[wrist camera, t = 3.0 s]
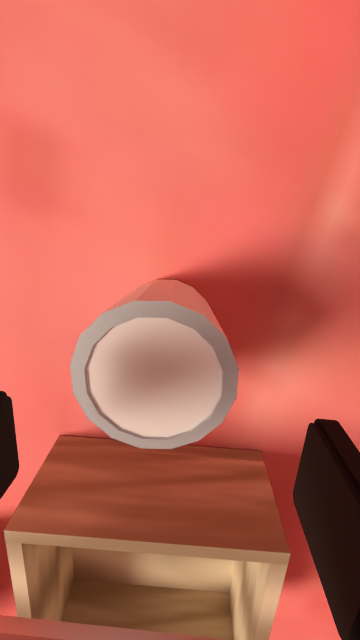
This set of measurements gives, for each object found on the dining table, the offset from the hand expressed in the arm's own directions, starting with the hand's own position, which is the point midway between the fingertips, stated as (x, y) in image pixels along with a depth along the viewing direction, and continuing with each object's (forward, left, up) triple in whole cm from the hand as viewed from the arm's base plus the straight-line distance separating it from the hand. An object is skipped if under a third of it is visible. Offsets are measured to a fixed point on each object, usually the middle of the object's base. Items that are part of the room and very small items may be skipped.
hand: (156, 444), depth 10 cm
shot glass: (0, 0, -10) cm, 10 cm away
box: (+16, 0, -10) cm, 19 cm away
